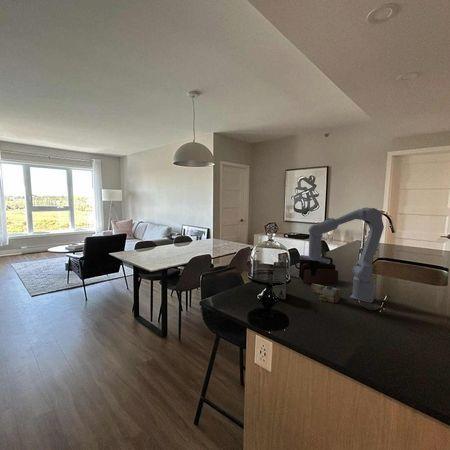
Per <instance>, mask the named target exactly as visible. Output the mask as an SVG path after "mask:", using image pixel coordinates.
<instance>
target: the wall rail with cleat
mask: <svg viewBox="0 0 450 450" xmlns="http://www.w3.org/2000/svg"><path fill="white" fill-rule="evenodd" d="M325 287H328V285H327V286H326V285H323V284H313V283H312V284H311V289H310V291H311V292H312V293H315V292H316V293H317V294H319V293H320V295H319V297H318V300H319V301H322V300H323V302H326V301H328V302H327V303H330V302H331V303H330V304H334V302H335V304H337V303H338V302H339V301H340V300H341V298H342V297H341V296H342V293H341V292H340V291H341V289H340V288H336V295H335V296H334V298H331V297H326V296H322V291H323V288H325Z"/></svg>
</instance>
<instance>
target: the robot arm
mask: <svg viewBox="0 0 450 450" xmlns="http://www.w3.org/2000/svg"><path fill="white" fill-rule="evenodd" d="M382 217H383V213H381V212H380V210H378V208H374V207H371V208H370V207H363V208H359V209H356V210H355V209H354V210H353V211H350V212H349V213H347V214H345V215H342V216H339V217H337V218H334V217H331V218H330V217H326V219H325V220H324V221H320V222H316V224H315V223H314V224H312V225H310V226H309V228H308V233H309V236H308V237H309V240H308V255H301V254H300V255H299V260H300V259H301V260H302V259H303V260H309V261H308V265H309V267H310V270H311V274H312V276H316V272H317V269H318V267H319V265H320V264H321V263H327V264H330V259H325V258H321V257H322V255H321V254H322V236H323V234H327V233H329V232H331V231H335V230H337V229H338V227H339V226H340V225H343V224H346V223H348V222H352V221H354V220H360V221H363V222H364V223H366V225H367V226H368V228H369V232H368V234H367V237H366V240H365V243H364V246H363V249H362V253H361V255H360V258H359V259H358V260H357V261H356V263H355V265H354V266H353V267H352V270H351V271H352V274H353V275H354V276H353V277H352V294H351V295H350V296H349V298H350V299H353V300H358V301H362V302H366V303H370V304H372V303H374V300H375V299H376V298H375V297H376V282H373V281H371V280H372V279H373V276H374V275H373V269H374V267H373V261H374V258H375V255H376V252H377V249H378V247H379V243H380V240H381V238H382V235H383V231H384V229H385V228H384V227H385V225H384V221H383V218H382Z"/></svg>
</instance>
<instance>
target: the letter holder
mask: <svg viewBox="0 0 450 450" xmlns="http://www.w3.org/2000/svg"><path fill="white" fill-rule="evenodd" d="M321 258H325V259H330V264H327V263H321V264H320V265H319V267H318V269H317V272H316V276H312V274H311V270H310V267H309V265H308V261H309V260H303V259H302V260H301V259H300V258H299V263H298V264H299V267H298V269H299V270H298V279H299V280H300V281H301V283H302V284H305V283H307V284H308V285H309V284H312V283H313V284H318V285H327V284H328V285H338V284H339V271H338V270H336V264H335V263H333V262H334V258H332V257H329V256H321Z"/></svg>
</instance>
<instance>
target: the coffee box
mask: <svg viewBox="0 0 450 450" xmlns="http://www.w3.org/2000/svg"><path fill="white" fill-rule="evenodd" d="M272 266H273V268H272V269H273V271H272V282H273V281H280V282H282V283H284V284H282V285H275V286H273V285H272V292H273V291H274V292H275V294H276V295H277V296H278V297H279V298H281V299H280V300H286V298H287V297H286V296H287V295H286V294H287V274H288V273H287V272H288V271H287V269H288V268H287V267H288V266H287V262H285V261H284V262H281V261H273V265H272Z"/></svg>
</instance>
